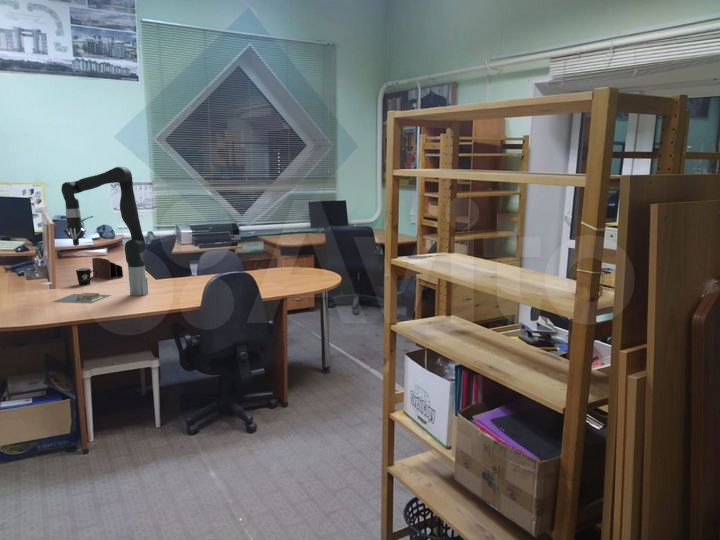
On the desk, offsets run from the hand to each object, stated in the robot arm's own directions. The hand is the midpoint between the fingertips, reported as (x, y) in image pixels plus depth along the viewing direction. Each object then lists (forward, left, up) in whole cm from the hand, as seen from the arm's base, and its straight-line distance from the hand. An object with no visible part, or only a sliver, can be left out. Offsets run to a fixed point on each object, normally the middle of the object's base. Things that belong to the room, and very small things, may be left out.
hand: (76, 245), depth 318 cm
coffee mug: (+12, -24, -29) cm, 40 cm away
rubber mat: (-12, +16, -29) cm, 35 cm away
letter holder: (+12, -48, -29) cm, 58 cm away
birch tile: (-11, +16, -27) cm, 33 cm away
